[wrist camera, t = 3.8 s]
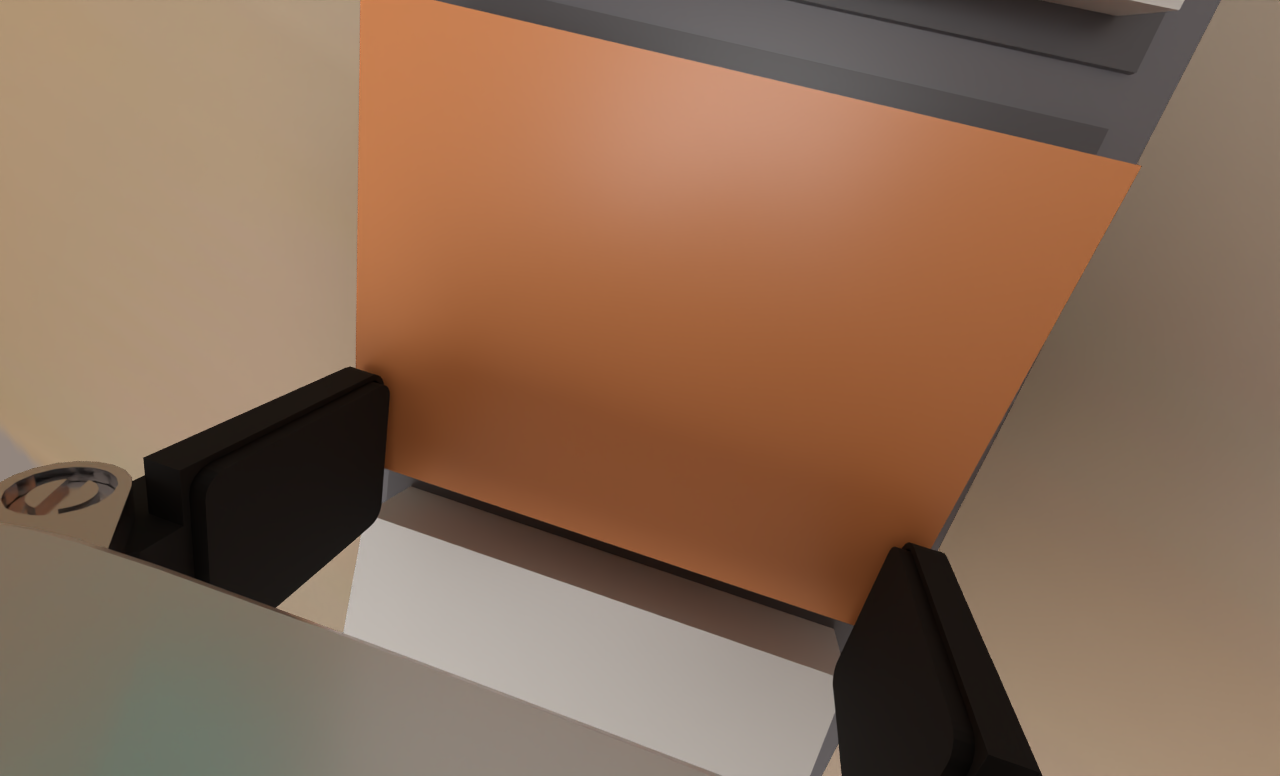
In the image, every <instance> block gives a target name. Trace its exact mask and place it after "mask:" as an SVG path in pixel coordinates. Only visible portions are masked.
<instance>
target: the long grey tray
mask: <svg viewBox="0 0 1280 776" xmlns="http://www.w3.org/2000/svg"><path fill="white" fill-rule="evenodd" d="M436 1H440V2H444V3H448V4H453V5H457V6H461V7H465V8H470V9H474V10H478V11H483V12H487V13H491V14H495V15H500V16H504V17H508V18H512V19H517V20H521V21H525V22H530V23H534V24H538V25H542V26H547V27H551V28H555V29H559V30H564V31H568V32H572V33H576V34H581V35H585V36H589V37H594V38H598V39H602V40H606V41H611V42H615V43H619V44H623V45H628V46H632V47H636V48H640V49H645V50H649V51H653V52H658V53H662V54H666V55H670V56H675V57H679V58H683V59H687V60H692V61H696V62H700V63H704V64H709V65H713V66H717V67H722V68H726V69H730V70H734V71H739V72H743V73H747V74H751V75H756V76H760V77H764V78H768V79H773V80H777V81H781V82H786V83H790V84H794V85H798V86H803V87H807V88H811V89H815V90H820V91H824V92H828V93H832V94H837V95H841V96H845V97H850V98H854V99H858V100H862V101H867V102H871V103H875V104H879V105H884V106H888V107H892V108H896V109H901V110H905V111H909V112H914V113H918V114H922V115H926V116H931V117H935V118H939V119H943V120H948V121H952V122H956V123H961V124H965V125H969V126H973V127H978V128H982V129H986V130H990V131H995V132H999V133H1003V134H1007V135H1012V136H1016V137H1020V138H1025V139H1029V140H1033V141H1037V142H1042V143H1046V144H1050V145H1054V146H1059V147H1063V148H1067V149H1071V150H1076V151H1080V152H1084V153H1089V154H1093V155H1097V156H1101V157H1106V158H1110V159H1114V160H1118V161H1123V162H1127V163H1131V164H1135V165H1136V164H1137V162H1138V160H1139V158H1140V156H1141V154H1142V152H1143V151H1144V149H1145V147H1146V145H1147V143H1148V141H1149V139H1150V137H1151V135H1152V133H1153V131H1154V129H1155V127H1156V125H1157V123H1158V121H1159V119H1160V118H1161V116H1162V114H1163V112H1164V110H1165V108H1166V106H1167V104H1168V102H1169V100H1170V98H1171V96H1172V94H1173V92H1174V90H1175V88H1176V86H1177V84H1178V83H1179V81H1180V79H1181V77H1182V75H1183V73H1184V71H1185V69H1186V67H1187V65H1188V63H1189V61H1190V59H1191V57H1192V55H1193V53H1194V51H1195V50H1196V48H1197V46H1198V44H1199V42H1200V40H1201V38H1202V36H1203V34H1204V32H1205V30H1206V28H1207V26H1208V24H1209V22H1210V20H1211V18H1212V16H1213V15H1214V13H1215V11H1216V9H1217V7H1218V5H1219V3H1220V1H1221V0H1185V1H1184V2H1183V4H1182V6H1181V8H1180V10H1176V11H1166V12H1155V13H1145V14H1134V15H1124V16H1114V15H1109V14H1105V13H1100V12H1095V11H1090V10H1085V9H1081V8H1076V7H1071V6H1066V5H1061V4H1057V3H1052V2H1047V1H1042V0H436ZM1044 343H1045V342H1044ZM1043 345H1044V344H1043ZM1042 347H1043V346H1042ZM1041 349H1042V348H1041ZM1040 351H1041V350H1040ZM1039 353H1040V352H1039ZM1039 353H1038V355H1039ZM1038 355H1037V357H1038ZM1037 357H1036V358H1037ZM1035 360H1036V359H1035ZM1034 362H1035V361H1034ZM1034 362H1033V364H1034ZM1033 364H1032V366H1033ZM1032 366H1031V368H1032ZM1031 368H1030V370H1031ZM1030 370H1029V371H1028V373H1027V375H1026V377H1025V379H1024V381H1023V382H1022V384H1021V386H1020V388H1019V390H1018V391H1017V393H1016V395H1015V397H1014V399H1013V400H1012V402H1011V404H1010V406H1009V408H1008V410H1007V411H1006V413H1005V415H1004V417H1003V419H1002V420H1001V422H1000V424H999V426H998V428H997V430H996V431H995V433H994V435H993V437H992V439H991V440H990V442H989V444H988V446H987V448H986V449H985V451H984V453H983V455H982V457H981V459H980V460H979V462H978V464H977V466H976V468H975V469H974V471H973V473H972V475H971V477H970V479H969V480H968V482H967V484H966V486H965V488H964V489H963V491H962V493H961V495H960V497H959V498H958V500H957V502H956V504H955V506H954V508H953V509H952V511H951V513H950V515H949V517H948V518H947V520H946V522H945V524H944V526H943V528H942V529H941V531H940V533H939V535H938V537H937V538H936V540H935V542H934V544H933V546H932V547H931V549H932V550H936V551H938V549H939V547H940V545H941V543H942V541H943V539H944V537H945V535H946V533H947V531H948V529H949V527H950V526H951V524H952V522H953V520H954V518H955V516H956V514H957V512H958V510H959V508H960V506H961V504H962V502H963V500H964V498H965V496H966V494H967V493H968V491H969V489H970V487H971V485H972V483H973V481H974V479H975V477H976V475H977V473H978V471H979V469H980V467H981V465H982V463H983V461H984V459H985V458H986V456H987V454H988V452H989V450H990V448H991V446H992V444H993V442H994V440H995V438H996V436H997V434H998V432H999V430H1000V428H1001V426H1002V425H1003V423H1004V421H1005V419H1006V417H1007V415H1008V413H1009V411H1010V409H1011V407H1012V405H1013V403H1014V401H1015V399H1016V397H1017V395H1018V393H1019V391H1020V390H1021V388H1022V386H1023V384H1024V382H1025V380H1026V378H1027V376H1028V374H1029V372H1030ZM410 486H411V487H414V488H417V489H420V490H423V491H426V492H429V493H432V494H435V495H438V496H441V497H444V498H447V499H450V500H453V501H456V502H459V503H462V504H465V505H468V506H471V507H474V508H477V509H480V510H483V511H486V512H489V513H491V514H494V515H497V516H500V517H503V518H506V519H509V520H512V521H515V522H518V523H521V524H524V525H527V526H530V527H533V528H536V529H539V530H542V531H545V532H548V533H551V534H554V535H557V536H560V537H563V538H566V539H569V540H572V541H575V542H578V543H581V544H583V545H586V546H589V547H592V548H595V549H598V550H601V551H604V552H607V553H610V554H613V555H616V556H619V557H622V558H625V559H628V560H631V561H634V562H637V563H640V564H643V565H646V566H649V567H652V568H655V569H658V570H661V571H664V572H667V573H670V574H672V575H675V576H678V577H681V578H684V579H687V580H690V581H693V582H696V583H699V584H702V585H705V586H708V587H711V588H714V589H717V590H720V591H723V592H726V593H729V594H732V595H735V596H738V597H741V598H744V599H747V600H750V601H753V602H756V603H759V604H762V605H764V606H767V607H770V608H773V609H776V610H779V611H782V612H785V613H788V614H791V615H794V616H797V617H800V618H803V619H806V620H809V621H812V622H815V623H818V624H821V625H824V626H827V627H830V628H833V629H834V631H835V635H836V639H837V642H838V646H839V650H840V654H841V652H842V650H843V648H844V646H845V644H846V642H847V639H848V637H849V635H850V633H851V631H852V629H853V627H854V625H851V624H848V623H845V622H842V621H839V620H836V619H833V618H830V617H827V616H824V615H821V614H818V613H815V612H812V611H809V610H806V609H803V608H800V607H797V606H794V605H791V604H788V603H785V602H782V601H779V600H776V599H773V598H770V597H767V596H764V595H761V594H758V593H755V592H752V591H749V590H746V589H743V588H740V587H737V586H734V585H731V584H728V583H725V582H722V581H719V580H716V579H713V578H710V577H707V576H704V575H701V574H698V573H695V572H692V571H689V570H686V569H683V568H680V567H677V566H674V565H671V564H669V563H666V562H663V561H660V560H657V559H654V558H651V557H648V556H645V555H642V554H639V553H636V552H633V551H630V550H627V549H624V548H621V547H618V546H615V545H612V544H609V543H606V542H603V541H600V540H597V539H594V538H591V537H588V536H585V535H582V534H579V533H576V532H573V531H570V530H567V529H564V528H561V527H558V526H555V525H552V524H549V523H546V522H543V521H540V520H537V519H534V518H531V517H528V516H525V515H522V514H519V513H516V512H513V511H510V510H507V509H504V508H501V507H498V506H495V505H492V504H489V503H486V502H483V501H480V500H478V499H475V498H472V497H469V496H466V495H463V494H460V493H457V492H454V491H451V490H448V489H445V488H442V487H439V486H436V485H433V484H430V483H427V482H424V481H421V480H418V479H415V478H412V477H409V476H406V475H403V474H400V473H397V472H394V471H391V470H388V469H385V468H384V479H383V492H382V503H384V502H385V501H387V500H389V499H390V498H392V497H393V496H395V495H397V494H398V493H400V492H402V491H403V490H405V489H407V488H408V487H410ZM837 745H838V733H837V723H836V713H835V714H834V716H833V719H832V721H831V724H830V726H829V729H828V731H827V734H826V736H825V739H824V742H823V744H822V747H821V749H820V752H819V754H818V757H817V759H816V762H815V764H814V767H813V770H812V772H811V775H810V776H822V774H823V772H824V770H825V768H826V766H827V765H828V763H829V761H830V759H831V757H832V755H833V753H834V751H835V749H836V747H837Z"/></svg>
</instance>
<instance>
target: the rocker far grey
mask: <svg viewBox="0 0 1280 776" xmlns="http://www.w3.org/2000/svg"><path fill="white" fill-rule="evenodd" d="M343 633H345V634H347V635H350V636H353V637H356V638H358V639H361V640H364V641H366V642H369V643H372V644H375V645H377V646H380V647H383V648H385V649H388V650H391V651H393V652H396V653H399V654H401V655H404V656H407V657H410V658H412V659H415V660H418V661H420V662H423V663H426V664H428V665H431V666H434V667H436V668H439V669H442V670H444V671H447V672H450V673H452V674H455V675H458V676H460V677H463V678H466V679H468V680H471V681H474V682H476V683H479V684H482V685H484V686H487V687H490V688H492V689H495V690H498V691H500V692H503V693H506V694H508V695H511V696H514V697H516V698H519V699H522V700H524V701H527V702H530V703H532V704H535V705H538V706H540V707H543V708H546V709H548V710H551V711H554V712H556V713H559V714H562V715H564V716H567V717H570V718H572V719H575V720H578V721H580V722H583V723H586V724H588V725H591V726H593V727H596V728H599V729H601V730H604V731H606V732H609V733H612V734H614V735H617V736H620V737H622V738H625V739H627V740H630V741H633V742H635V743H638V744H641V745H643V746H646V747H648V748H651V749H654V750H656V751H659V752H662V753H664V754H667V755H669V756H672V757H675V758H677V759H680V760H683V761H685V762H688V763H690V764H693V765H696V766H698V767H701V768H704V769H706V770H709V771H711V772H714V773H717V774H719V775H722V776H810V775H811V772H812V770H813V767H814V764H815V762H816V759H817V757H818V754H819V752H820V749H821V747H822V744H823V742H824V739H825V736H826V734H827V731H828V729H829V726H830V724H831V721H832V719H833V716H834V714H835V704H834V694H833V674H834V669H835V666H836V663H837V661H838V659H839V656H840V650H839V646H838V642H837V639H836V635H835V631H834V629H833V628H830V627H827V626H824V625H821V624H818V623H815V622H812V621H809V620H806V619H803V618H800V617H797V616H794V615H791V614H788V613H785V612H782V611H779V610H776V609H773V608H770V607H767V606H764V605H762V604H759V603H756V602H753V601H750V600H747V599H744V598H741V597H738V596H735V595H732V594H729V593H726V592H723V591H720V590H717V589H714V588H711V587H708V586H705V585H702V584H699V583H696V582H693V581H690V580H687V579H684V578H681V577H678V576H675V575H672V574H670V573H667V572H664V571H661V570H658V569H655V568H652V567H649V566H646V565H643V564H640V563H637V562H634V561H631V560H628V559H625V558H622V557H619V556H616V555H613V554H610V553H607V552H604V551H601V550H598V549H595V548H592V547H589V546H586V545H583V544H581V543H578V542H575V541H572V540H569V539H566V538H563V537H560V536H557V535H554V534H551V533H548V532H545V531H542V530H539V529H536V528H533V527H530V526H527V525H524V524H521V523H518V522H515V521H512V520H509V519H506V518H503V517H500V516H497V515H494V514H491V513H489V512H486V511H483V510H480V509H477V508H474V507H471V506H468V505H465V504H462V503H459V502H456V501H453V500H450V499H447V498H444V497H441V496H438V495H435V494H432V493H429V492H426V491H423V490H420V489H417V488H414V487H411V486H410V487H408V488H407V489H405V490H403V491H402V492H400V493H398V494H397V495H395V496H393V497H392V498H390V499H389V500H387V501H385V502H384V503H382V505H381V510H380V513H379V515H378V517H377V519H376V521H375V522H374V523H373V524H372V525H371V526H370V527H369V528H368V529H367V530H366V531H364V532H363V533H362V534H361V539H360V545H359V550H358V555H357V561H356V566H355V572H354V577H353V583H352V588H351V594H350V599H349V604H348V610H347V615H346V621H345V626H344V632H343Z"/></svg>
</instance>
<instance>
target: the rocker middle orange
mask: <svg viewBox="0 0 1280 776" xmlns="http://www.w3.org/2000/svg"><path fill="white" fill-rule="evenodd" d="M1140 168H1141V166H1140V165H1135V164H1131V163H1127V162H1123V161H1118V160H1114V159H1110V158H1106V157H1101V156H1097V155H1093V154H1089V153H1084V152H1080V151H1076V150H1071V149H1067V148H1063V147H1059V146H1054V145H1050V144H1046V143H1042V142H1037V141H1033V140H1029V139H1025V138H1020V137H1016V136H1012V135H1007V134H1003V133H999V132H995V131H990V130H986V129H982V128H978V127H973V126H969V125H965V124H961V123H956V122H952V121H948V120H943V119H939V118H935V117H931V116H926V115H922V114H918V113H914V112H909V111H905V110H901V109H896V108H892V107H888V106H884V105H879V104H875V103H871V102H867V101H862V100H858V99H854V98H850V97H845V96H841V95H837V94H832V93H828V92H824V91H820V90H815V89H811V88H807V87H803V86H798V85H794V84H790V83H786V82H781V81H777V80H773V79H768V78H764V77H760V76H756V75H751V74H747V73H743V72H739V71H734V70H730V69H726V68H722V67H717V66H713V65H709V64H704V63H700V62H696V61H692V60H687V59H683V58H679V57H675V56H670V55H666V54H662V53H658V52H653V51H649V50H645V49H640V48H636V47H632V46H628V45H623V44H619V43H615V42H611V41H606V40H602V39H598V38H594V37H589V36H585V35H581V34H576V33H572V32H568V31H564V30H559V29H555V28H551V27H547V26H542V25H538V24H534V23H530V22H525V21H521V20H517V19H512V18H508V17H504V16H500V15H495V14H491V13H487V12H483V11H478V10H474V9H470V8H465V7H461V6H457V5H453V4H448V3H444V2H440V1H436V0H360V78H359V156H358V235H357V313H356V368H357V369H360V370H363V371H366V372H369V373H372V374H376V375H379V376H380V377H381V378H382V379H383V382H384V385H385V386H387V387H388V388H389V391H390V401H389V414H388V427H387V440H386V453H385V466H384V468H385V469H388V470H391V471H394V472H397V473H400V474H403V475H406V476H409V477H412V478H415V479H418V480H421V481H424V482H427V483H430V484H433V485H436V486H439V487H442V488H445V489H448V490H451V491H454V492H457V493H460V494H463V495H466V496H469V497H472V498H475V499H478V500H480V501H483V502H486V503H489V504H492V505H495V506H498V507H501V508H504V509H507V510H510V511H513V512H516V513H519V514H522V515H525V516H528V517H531V518H534V519H537V520H540V521H543V522H546V523H549V524H552V525H555V526H558V527H561V528H564V529H567V530H570V531H573V532H576V533H579V534H582V535H585V536H588V537H591V538H594V539H597V540H600V541H603V542H606V543H609V544H612V545H615V546H618V547H621V548H624V549H627V550H630V551H633V552H636V553H639V554H642V555H645V556H648V557H651V558H654V559H657V560H660V561H663V562H666V563H669V564H671V565H674V566H677V567H680V568H683V569H686V570H689V571H692V572H695V573H698V574H701V575H704V576H707V577H710V578H713V579H716V580H719V581H722V582H725V583H728V584H731V585H734V586H737V587H740V588H743V589H746V590H749V591H752V592H755V593H758V594H761V595H764V596H767V597H770V598H773V599H776V600H779V601H782V602H785V603H788V604H791V605H794V606H797V607H800V608H803V609H806V610H809V611H812V612H815V613H818V614H821V615H824V616H827V617H830V618H833V619H836V620H839V621H842V622H845V623H848V624H851V625H855V623H856V620H857V618H858V616H859V614H860V612H861V610H862V608H863V606H864V603H865V601H866V599H867V597H868V595H869V593H870V591H871V589H872V586H873V584H874V582H875V580H876V578H877V576H878V574H879V572H880V569H881V567H882V565H883V563H884V561H885V559H886V557H887V555H888V553H889V551H890V550H891V548H892V547H898V548H901V549H902V547H903V546H904V545H905V544H906V543H908V542H910V543H913V544H916V545H920V546H923V547H926V548H929V549H931V547H932V546H933V544H934V542H935V540H936V538H937V537H938V535H939V533H940V531H941V529H942V528H943V526H944V524H945V522H946V520H947V518H948V517H949V515H950V513H951V511H952V509H953V508H954V506H955V504H956V502H957V500H958V498H959V497H960V495H961V493H962V491H963V489H964V488H965V486H966V484H967V482H968V480H969V479H970V477H971V475H972V473H973V471H974V469H975V468H976V466H977V464H978V462H979V460H980V459H981V457H982V455H983V453H984V451H985V449H986V448H987V446H988V444H989V442H990V440H991V439H992V437H993V435H994V433H995V431H996V430H997V428H998V426H999V424H1000V422H1001V420H1002V419H1003V417H1004V415H1005V413H1006V411H1007V410H1008V408H1009V406H1010V404H1011V402H1012V400H1013V399H1014V397H1015V395H1016V393H1017V391H1018V390H1019V388H1020V386H1021V384H1022V382H1023V381H1024V379H1025V377H1026V375H1027V373H1028V371H1029V370H1030V368H1031V366H1032V364H1033V362H1034V361H1035V359H1036V357H1037V355H1038V353H1039V352H1040V350H1041V348H1042V346H1043V344H1044V342H1045V341H1046V339H1047V337H1048V335H1049V333H1050V332H1051V330H1052V328H1053V326H1054V324H1055V322H1056V321H1057V319H1058V317H1059V315H1060V313H1061V312H1062V310H1063V308H1064V306H1065V304H1066V303H1067V301H1068V299H1069V297H1070V295H1071V293H1072V292H1073V290H1074V288H1075V286H1076V284H1077V283H1078V281H1079V279H1080V277H1081V275H1082V273H1083V272H1084V270H1085V268H1086V266H1087V264H1088V263H1089V261H1090V259H1091V257H1092V255H1093V254H1094V252H1095V250H1096V248H1097V246H1098V244H1099V243H1100V241H1101V239H1102V237H1103V235H1104V234H1105V232H1106V230H1107V228H1108V226H1109V224H1110V223H1111V221H1112V219H1113V217H1114V215H1115V214H1116V212H1117V210H1118V208H1119V206H1120V205H1121V203H1122V201H1123V199H1124V197H1125V195H1126V194H1127V192H1128V190H1129V188H1130V186H1131V185H1132V183H1133V181H1134V179H1135V177H1136V176H1137V174H1138V172H1139V170H1140Z"/></svg>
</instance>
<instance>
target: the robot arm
mask: <svg viewBox="0 0 1280 776" xmlns="http://www.w3.org/2000/svg"><path fill="white" fill-rule="evenodd" d="M389 401H390V391H389V388H388V387H387V386H385V385H384V382H383V379H382V378H381V377H380V376H379V375H376V374H372V373H369V372H366V371H363V370H360V369H357V368H353V367H347V368H344V369H342V370H340V371H337V372H335V373H333V374H331V375H328V376H326V377H324V378H322V379H319V380H317V381H315V382H313V383H310V384H308V385H306V386H304V387H301V388H299V389H297V390H295V391H292V392H290V393H288V394H286V395H283V396H281V397H279V398H277V399H274V400H272V401H270V402H268V403H265V404H263V405H261V406H259V407H256V408H254V409H252V410H250V411H247V412H245V413H243V414H241V415H238V416H236V417H234V418H232V419H229V420H227V421H225V422H223V423H220V424H218V425H216V426H214V427H212V428H209V429H207V430H205V431H203V432H200V433H198V434H196V435H194V436H191V437H189V438H187V439H185V440H182V441H180V442H178V443H176V444H173V445H171V446H169V447H167V448H164V449H162V450H160V451H158V452H155V453H153V454H151V455H149V456H146V457H144V458H143V459H144V469H145V475H144V476H142V477H140V478H138V479H136V480H134V481H132V477H131V476H130V475H129V473H128V472H127V471H126V470H124V469H122V468H120V467H118V466H115V465H113V464H107V463H102V462H89V461H75V462H65V463H55V464H50V465H46V466H41V467H37V468H33V469H30V470H27V471H24V472H22V473H18V474H16V475H13V476H11V477H9V478H7V479H5V480H4V481H2V482H0V776H722V775H719V774H717V773H714V772H711V771H709V770H706V769H704V768H701V767H698V766H696V765H693V764H690V763H688V762H685V761H683V760H680V759H677V758H675V757H672V756H669V755H667V754H664V753H662V752H659V751H656V750H654V749H651V748H648V747H646V746H643V745H641V744H638V743H635V742H633V741H630V740H627V739H625V738H622V737H620V736H617V735H614V734H612V733H609V732H606V731H604V730H601V729H599V728H596V727H593V726H591V725H588V724H586V723H583V722H580V721H578V720H575V719H572V718H570V717H567V716H564V715H562V714H559V713H556V712H554V711H551V710H548V709H546V708H543V707H540V706H538V705H535V704H532V703H530V702H527V701H524V700H522V699H519V698H516V697H514V696H511V695H508V694H506V693H503V692H500V691H498V690H495V689H492V688H490V687H487V686H484V685H482V684H479V683H476V682H474V681H471V680H468V679H466V678H463V677H460V676H458V675H455V674H452V673H450V672H447V671H444V670H442V669H439V668H436V667H434V666H431V665H428V664H426V663H423V662H420V661H418V660H415V659H412V658H410V657H407V656H404V655H401V654H399V653H396V652H393V651H391V650H388V649H385V648H383V647H380V646H377V645H375V644H372V643H369V642H366V641H364V640H361V639H358V638H356V637H353V636H350V635H347V634H345V633H342V632H339V631H336V630H334V629H331V628H328V627H326V626H323V625H320V624H317V623H315V622H312V621H309V620H307V619H304V618H301V617H298V616H296V615H293V614H290V613H287V612H285V611H282V610H279V609H277V608H276V607H277V606H278V605H280V604H281V603H282V602H283V601H284V600H285V599H286V598H288V597H289V596H290V595H291V594H292V593H293V592H295V591H296V590H297V589H298V588H299V587H300V586H302V585H303V584H304V583H305V582H306V581H307V580H309V579H310V578H311V577H312V576H313V575H314V574H316V573H317V572H318V571H319V570H320V569H321V568H323V567H324V566H325V565H326V564H327V563H328V562H330V561H331V560H332V559H333V558H334V557H335V556H337V555H338V554H339V553H340V552H341V551H342V550H344V549H345V548H346V547H347V546H348V545H349V544H351V543H352V542H353V541H354V540H355V539H356V538H357V537H359V536H360V535H361V534H362V533H363V532H364V531H366V530H367V529H368V528H369V527H370V526H371V525H372V524H373V523H374V522H375V521H376V519H377V517H378V515H379V513H380V510H381V505H382V492H383V479H384V466H385V453H386V440H387V427H388V414H389ZM833 694H834V704H835V713H836V723H837V733H838V743H839V752H840V762H841V772H842V776H1042V774H1041V771H1040V769H1039V767H1038V764H1037V762H1036V760H1035V758H1034V755H1033V753H1032V751H1031V748H1030V746H1029V744H1028V742H1027V739H1026V737H1025V735H1024V732H1023V730H1022V728H1021V725H1020V723H1019V721H1018V719H1017V716H1016V714H1015V712H1014V709H1013V707H1012V705H1011V703H1010V700H1009V698H1008V696H1007V693H1006V691H1005V689H1004V686H1003V684H1002V682H1001V680H1000V677H999V675H998V673H997V670H996V668H995V666H994V664H993V661H992V659H991V657H990V655H989V653H988V650H987V648H986V646H985V644H984V641H983V639H982V637H981V634H980V632H979V630H978V627H977V625H976V623H975V621H974V618H973V616H972V614H971V611H970V609H969V607H968V604H967V602H966V600H965V598H964V595H963V593H962V591H961V588H960V586H959V584H958V582H957V579H956V577H955V575H954V572H953V570H952V568H951V565H950V563H949V561H948V559H947V557H946V555H945V554H944V553H942V552H939V551H936V550H932V549H929V548H926V547H923V546H920V545H916V544H913V543H910V542H908V543H906V544H905V545H904V546H903V547H902V549H901V548H898V547H892V548H891V550H890V551H889V553H888V555H887V557H886V559H885V561H884V563H883V565H882V567H881V569H880V572H879V574H878V576H877V578H876V580H875V582H874V584H873V586H872V589H871V591H870V593H869V595H868V597H867V599H866V601H865V603H864V606H863V608H862V610H861V612H860V614H859V616H858V618H857V620H856V623H855V625H854V627H853V629H852V631H851V633H850V635H849V637H848V639H847V642H846V644H845V646H844V648H843V650H842V652H841V654H840V656H839V659H838V661H837V663H836V666H835V669H834V674H833Z"/></svg>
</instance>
